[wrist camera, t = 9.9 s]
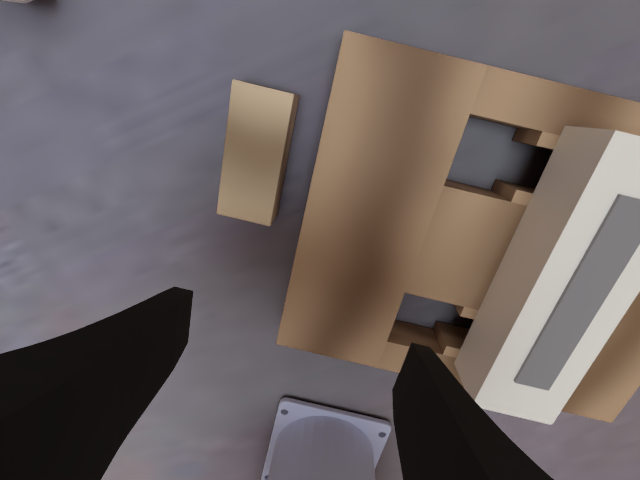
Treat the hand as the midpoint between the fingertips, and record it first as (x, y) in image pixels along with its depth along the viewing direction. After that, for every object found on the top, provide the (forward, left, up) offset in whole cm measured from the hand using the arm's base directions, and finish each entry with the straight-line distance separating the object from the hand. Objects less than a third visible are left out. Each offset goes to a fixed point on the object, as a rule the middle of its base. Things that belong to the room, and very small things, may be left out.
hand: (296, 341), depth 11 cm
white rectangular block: (+2, -11, -9) cm, 14 cm away
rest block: (+4, +4, -9) cm, 11 cm away
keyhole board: (+2, -9, -9) cm, 13 cm away
